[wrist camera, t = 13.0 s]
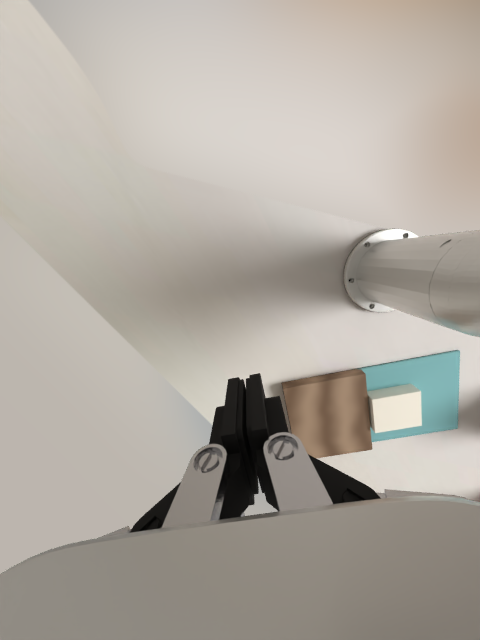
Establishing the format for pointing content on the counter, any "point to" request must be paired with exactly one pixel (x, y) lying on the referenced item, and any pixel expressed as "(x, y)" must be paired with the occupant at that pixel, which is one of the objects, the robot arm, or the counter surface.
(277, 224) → the counter surface
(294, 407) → the board
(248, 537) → the robot arm
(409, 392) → the block
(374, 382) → the mat
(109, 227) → the counter surface
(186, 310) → the counter surface
